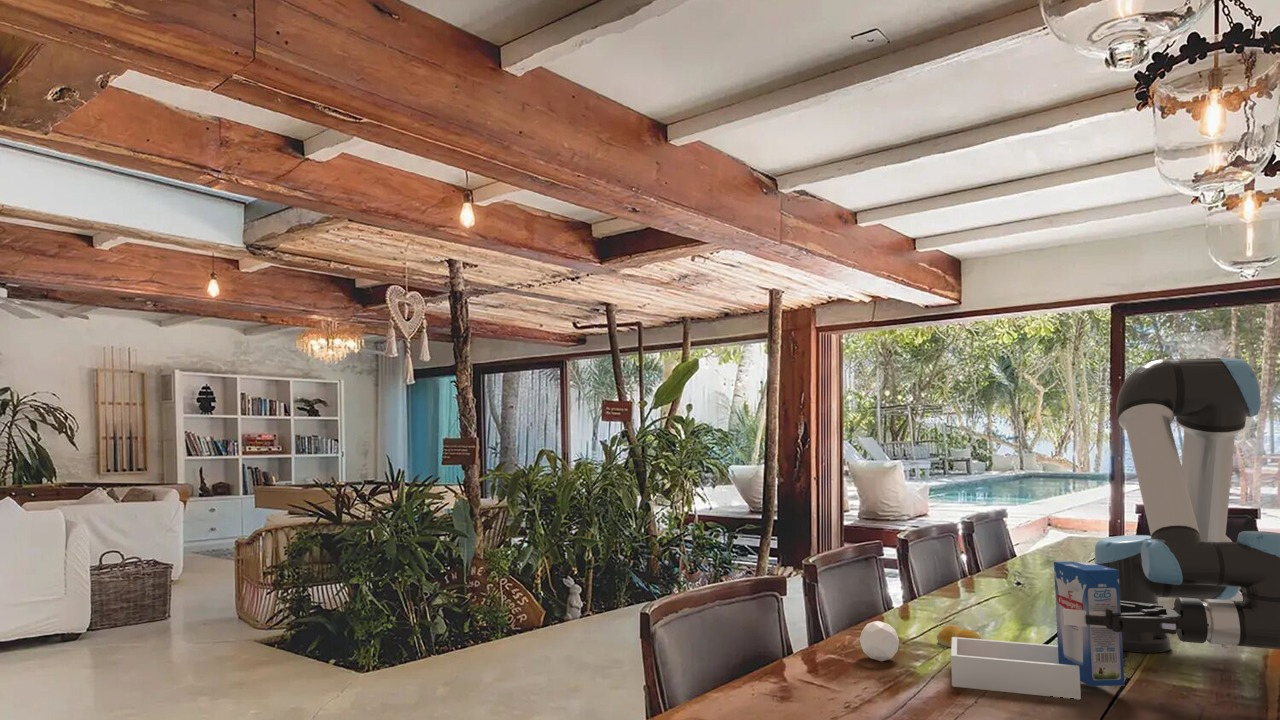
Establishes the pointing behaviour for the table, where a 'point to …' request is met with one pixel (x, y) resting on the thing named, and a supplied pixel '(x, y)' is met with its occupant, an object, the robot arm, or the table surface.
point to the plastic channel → (1012, 668)
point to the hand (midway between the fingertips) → (1060, 611)
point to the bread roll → (954, 635)
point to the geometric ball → (879, 641)
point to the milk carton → (1088, 645)
